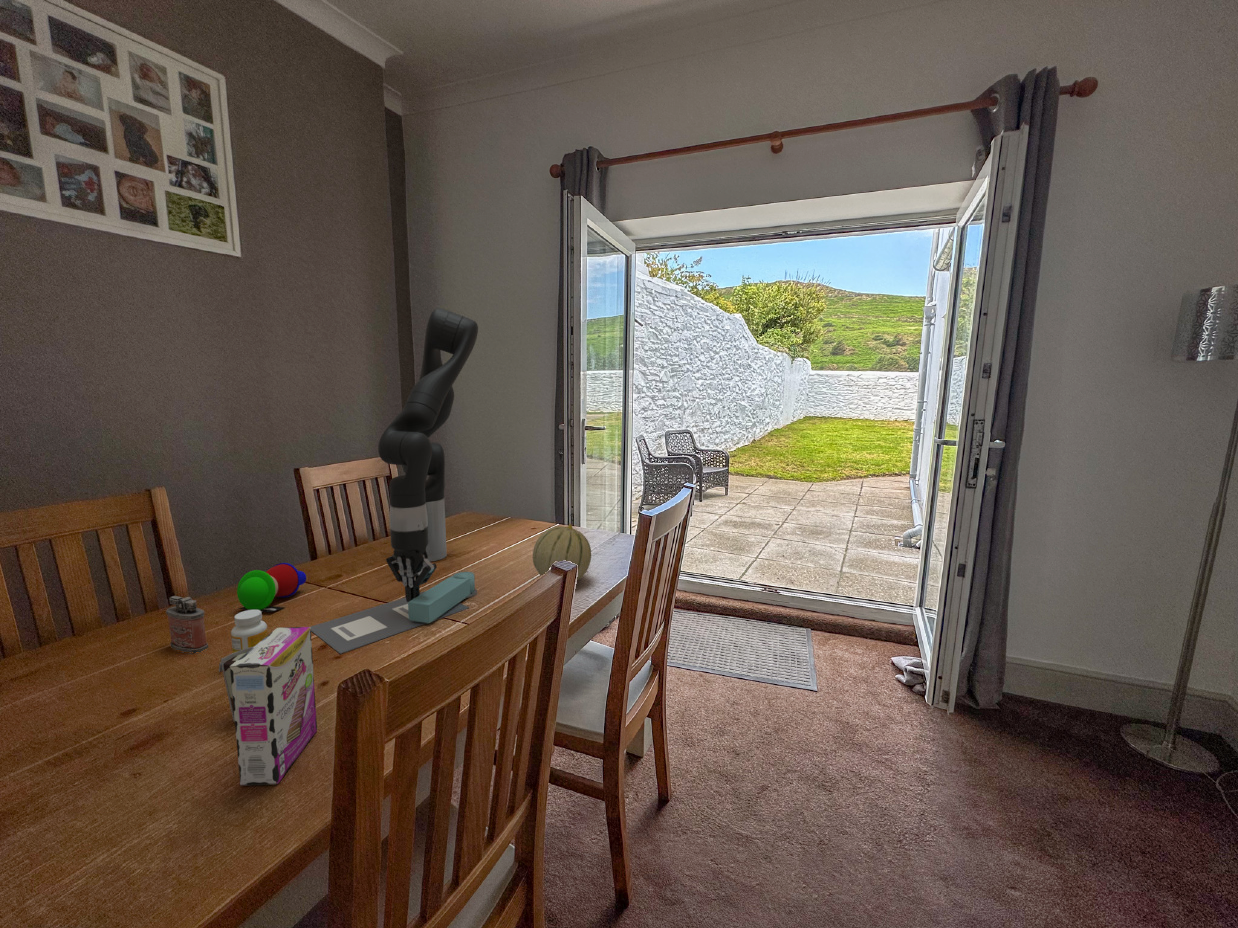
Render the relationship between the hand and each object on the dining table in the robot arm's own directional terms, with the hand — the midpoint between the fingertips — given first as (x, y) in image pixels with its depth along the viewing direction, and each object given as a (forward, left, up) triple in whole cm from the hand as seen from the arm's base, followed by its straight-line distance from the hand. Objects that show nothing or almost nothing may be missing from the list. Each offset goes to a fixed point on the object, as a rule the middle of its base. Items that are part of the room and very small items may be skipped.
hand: (412, 601), depth 119 cm
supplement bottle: (-2, -30, -3) cm, 30 cm away
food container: (+17, -32, -3) cm, 36 cm away
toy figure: (-30, -18, -3) cm, 35 cm away
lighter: (-18, -36, -3) cm, 40 cm away
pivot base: (-2, +14, -3) cm, 15 cm away
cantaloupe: (+10, +35, -3) cm, 37 cm away
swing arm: (+1, +7, -2) cm, 8 cm away
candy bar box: (+29, -35, -3) cm, 45 cm away
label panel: (-2, -4, -3) cm, 5 cm away
